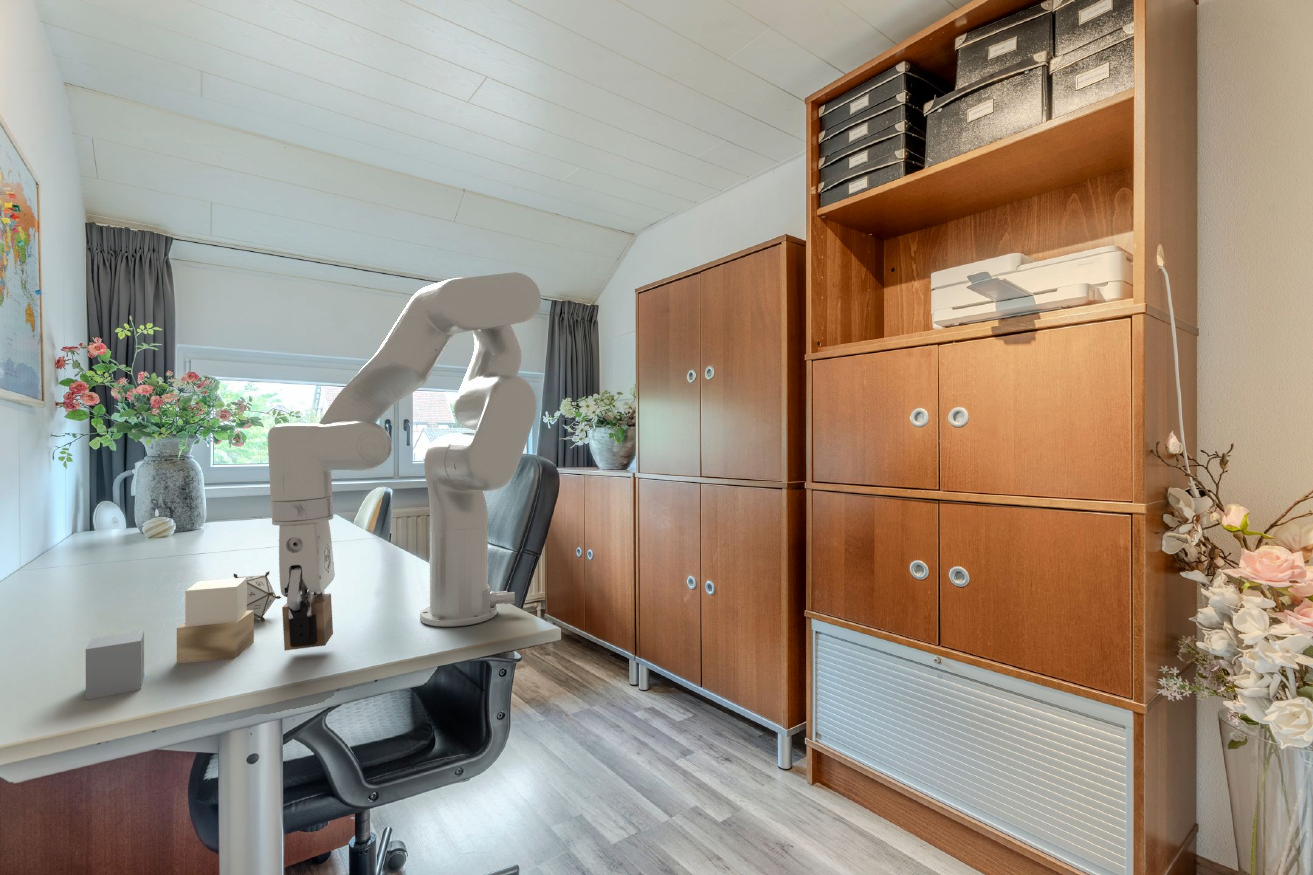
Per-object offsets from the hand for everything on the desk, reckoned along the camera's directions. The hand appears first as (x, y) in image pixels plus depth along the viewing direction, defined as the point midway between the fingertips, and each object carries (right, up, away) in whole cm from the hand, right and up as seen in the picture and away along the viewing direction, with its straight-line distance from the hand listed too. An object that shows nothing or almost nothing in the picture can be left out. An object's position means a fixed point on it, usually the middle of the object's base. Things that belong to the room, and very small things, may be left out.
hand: (309, 636), depth 87 cm
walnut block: (0, -1, 0) cm, 1 cm away
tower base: (-14, -3, +1) cm, 14 cm away
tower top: (-14, +2, +1) cm, 14 cm away
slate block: (-18, -3, -11) cm, 21 cm away
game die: (-19, -3, +16) cm, 26 cm away
